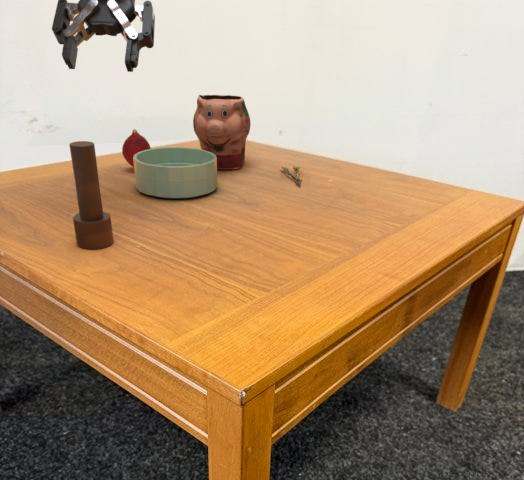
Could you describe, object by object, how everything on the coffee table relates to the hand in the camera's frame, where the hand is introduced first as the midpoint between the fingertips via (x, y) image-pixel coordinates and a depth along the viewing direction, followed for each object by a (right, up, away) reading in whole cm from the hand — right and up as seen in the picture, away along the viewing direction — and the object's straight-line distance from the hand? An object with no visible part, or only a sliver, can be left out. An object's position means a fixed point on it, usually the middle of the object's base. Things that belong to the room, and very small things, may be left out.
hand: (99, 66), depth 79 cm
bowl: (+7, -10, +26) cm, 29 cm away
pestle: (-1, -25, +2) cm, 25 cm away
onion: (-3, -3, +37) cm, 37 cm away
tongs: (+30, -5, +35) cm, 47 cm away
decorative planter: (+15, +1, +43) cm, 46 cm away
